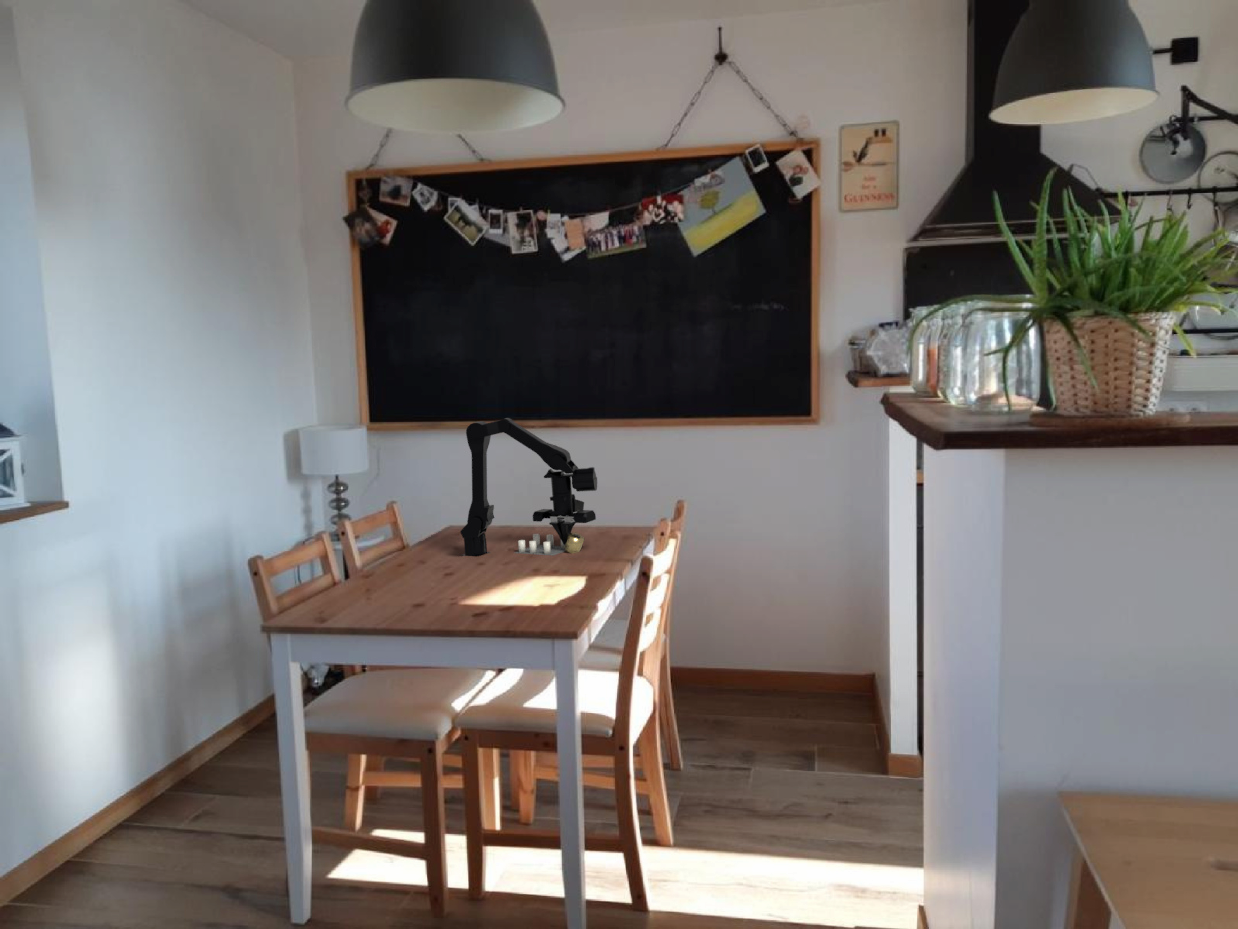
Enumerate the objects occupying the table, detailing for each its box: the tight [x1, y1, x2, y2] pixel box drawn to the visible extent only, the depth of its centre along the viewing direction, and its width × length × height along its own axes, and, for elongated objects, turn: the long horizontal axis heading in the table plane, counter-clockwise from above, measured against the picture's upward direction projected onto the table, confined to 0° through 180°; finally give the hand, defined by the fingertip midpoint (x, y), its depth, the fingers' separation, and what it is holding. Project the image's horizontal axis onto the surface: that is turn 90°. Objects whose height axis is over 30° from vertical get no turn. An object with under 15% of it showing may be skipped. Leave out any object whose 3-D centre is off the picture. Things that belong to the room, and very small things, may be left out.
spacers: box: [517, 533, 565, 556], centre depth 282 cm, size 11×12×4 cm
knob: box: [565, 532, 585, 554], centre depth 276 cm, size 5×5×5 cm
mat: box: [514, 544, 567, 557], centre depth 282 cm, size 12×14×1 cm
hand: (566, 544), depth 278 cm, fingers closed
